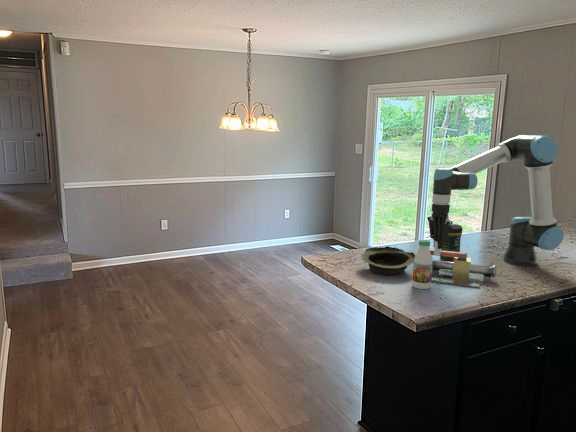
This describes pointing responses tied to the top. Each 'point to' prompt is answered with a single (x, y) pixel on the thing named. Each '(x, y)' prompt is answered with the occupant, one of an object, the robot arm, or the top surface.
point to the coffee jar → (452, 242)
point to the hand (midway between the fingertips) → (437, 255)
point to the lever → (452, 254)
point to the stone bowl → (387, 259)
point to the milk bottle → (422, 266)
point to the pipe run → (461, 273)
